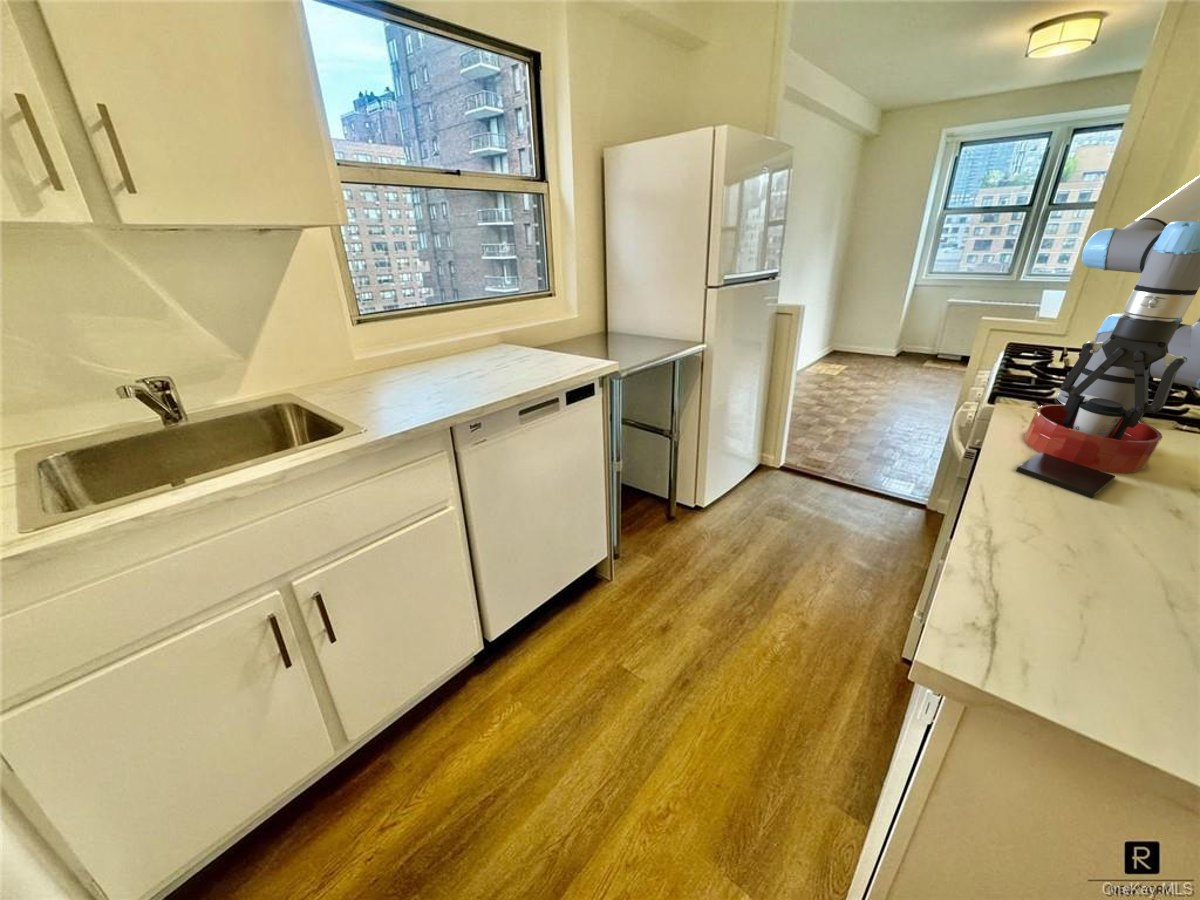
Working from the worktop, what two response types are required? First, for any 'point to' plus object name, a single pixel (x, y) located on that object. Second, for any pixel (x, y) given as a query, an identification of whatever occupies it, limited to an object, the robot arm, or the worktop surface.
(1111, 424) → the coffee cup
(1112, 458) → the bowl
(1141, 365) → the robot arm
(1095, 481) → the plate
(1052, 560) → the worktop surface
